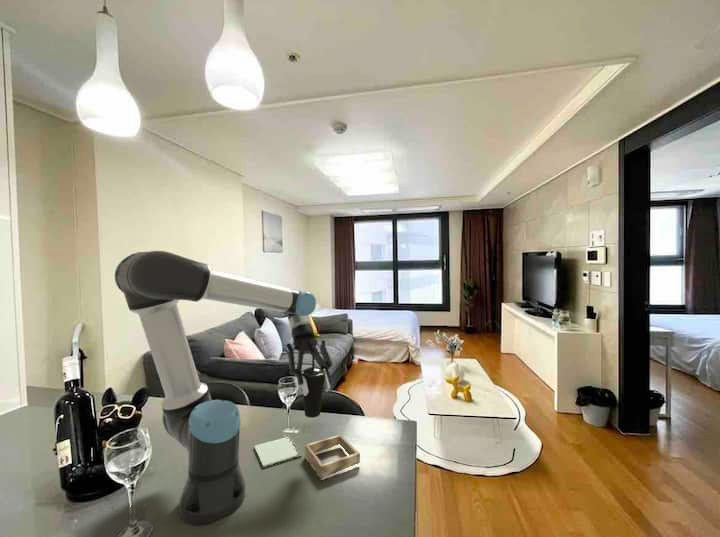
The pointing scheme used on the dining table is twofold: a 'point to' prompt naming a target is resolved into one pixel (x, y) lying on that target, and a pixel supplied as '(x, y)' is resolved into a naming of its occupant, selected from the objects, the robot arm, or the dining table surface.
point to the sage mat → (275, 451)
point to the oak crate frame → (337, 464)
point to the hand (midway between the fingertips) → (317, 391)
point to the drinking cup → (313, 389)
